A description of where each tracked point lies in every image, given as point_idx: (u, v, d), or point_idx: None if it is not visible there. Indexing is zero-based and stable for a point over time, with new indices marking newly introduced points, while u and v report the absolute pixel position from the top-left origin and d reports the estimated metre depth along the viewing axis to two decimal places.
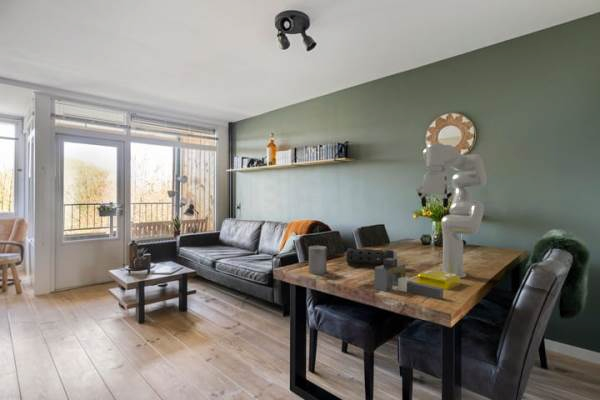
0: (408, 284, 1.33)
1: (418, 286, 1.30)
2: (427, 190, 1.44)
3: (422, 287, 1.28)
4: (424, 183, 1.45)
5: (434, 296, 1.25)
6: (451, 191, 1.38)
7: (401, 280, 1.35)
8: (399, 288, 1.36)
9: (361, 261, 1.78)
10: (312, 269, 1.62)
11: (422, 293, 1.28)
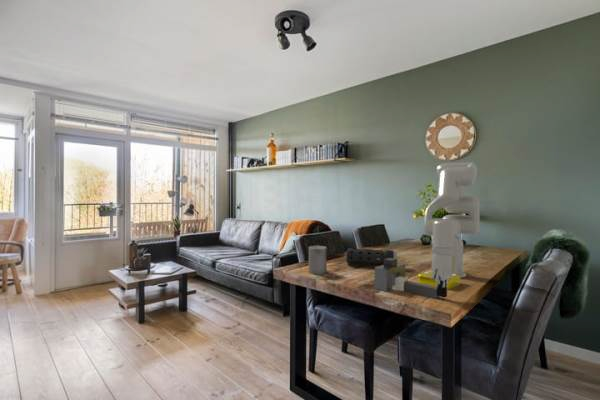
0: (405, 283, 1.34)
1: (415, 285, 1.31)
2: (445, 276, 1.21)
3: (419, 286, 1.29)
4: (444, 268, 1.20)
5: (431, 295, 1.26)
6: (447, 279, 1.26)
7: (398, 279, 1.36)
8: (396, 287, 1.36)
9: (361, 261, 1.78)
10: (312, 269, 1.62)
11: (419, 292, 1.29)
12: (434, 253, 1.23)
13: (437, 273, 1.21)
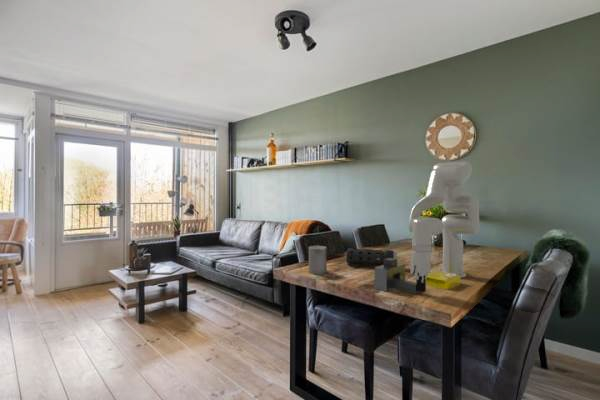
0: None
1: (396, 281, 1.37)
2: (423, 272, 1.27)
3: (400, 282, 1.36)
4: (422, 264, 1.26)
5: (410, 290, 1.32)
6: (426, 274, 1.33)
7: None
8: None
9: (361, 261, 1.78)
10: (312, 269, 1.62)
11: (400, 288, 1.36)
12: (413, 250, 1.29)
13: (416, 269, 1.27)
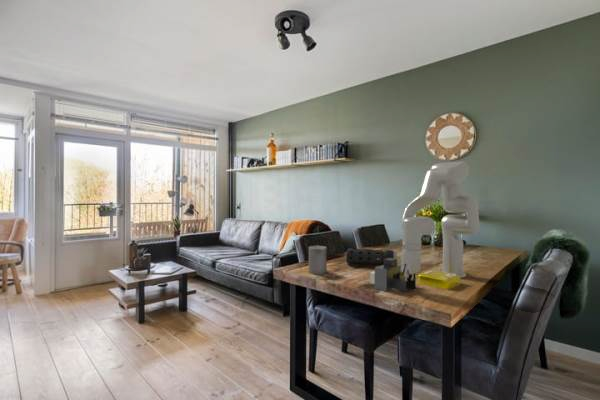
0: None
1: None
2: (413, 270, 1.30)
3: None
4: (412, 263, 1.29)
5: (401, 288, 1.35)
6: (416, 273, 1.36)
7: (372, 274, 1.45)
8: (371, 281, 1.46)
9: (361, 261, 1.78)
10: (312, 269, 1.62)
11: None
12: (403, 249, 1.33)
13: (406, 267, 1.31)
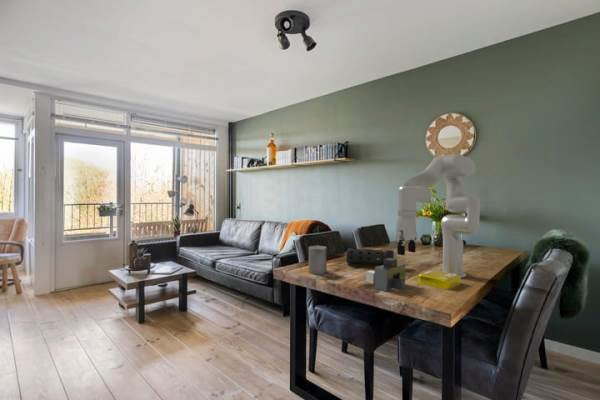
0: None
1: None
2: (408, 236, 1.32)
3: None
4: (407, 229, 1.31)
5: (397, 287, 1.37)
6: (416, 235, 1.40)
7: (369, 273, 1.47)
8: (367, 280, 1.47)
9: (361, 261, 1.78)
10: (312, 269, 1.62)
11: None
12: (399, 216, 1.34)
13: None
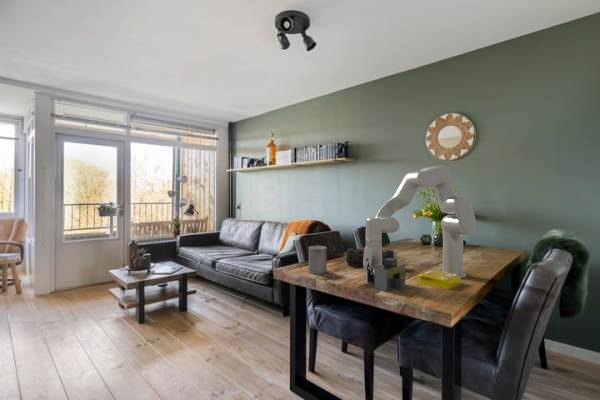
0: None
1: None
2: (374, 264, 1.44)
3: None
4: (372, 258, 1.43)
5: (397, 287, 1.37)
6: (380, 265, 1.51)
7: None
8: None
9: (361, 261, 1.78)
10: (312, 269, 1.62)
11: None
12: (366, 245, 1.47)
13: None
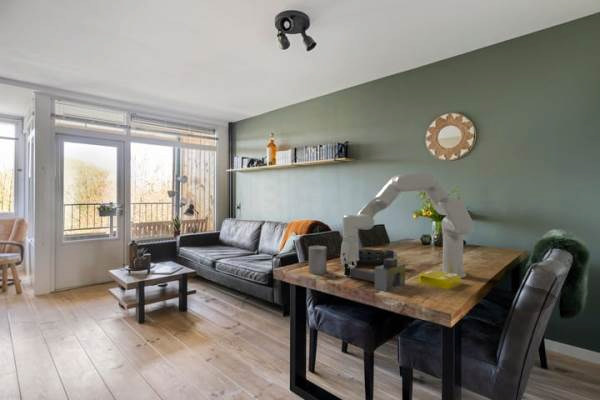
0: (351, 270, 1.55)
1: (359, 271, 1.52)
2: (350, 258, 1.54)
3: (362, 272, 1.51)
4: (348, 252, 1.53)
5: (370, 279, 1.47)
6: (357, 260, 1.61)
7: None
8: None
9: (361, 261, 1.78)
10: (312, 269, 1.62)
11: (362, 277, 1.51)
12: (343, 241, 1.57)
13: None
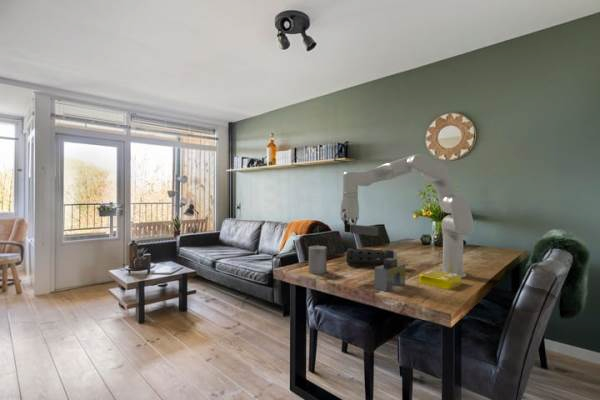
0: (351, 226, 1.55)
1: (359, 227, 1.51)
2: (350, 214, 1.54)
3: (361, 227, 1.50)
4: (348, 208, 1.53)
5: (370, 233, 1.47)
6: (357, 218, 1.61)
7: None
8: (344, 231, 1.57)
9: (361, 261, 1.78)
10: (312, 269, 1.62)
11: (361, 232, 1.50)
12: (343, 197, 1.56)
13: None
